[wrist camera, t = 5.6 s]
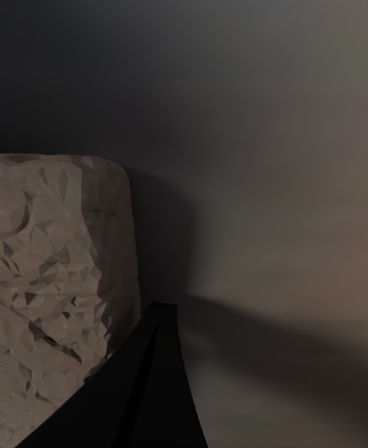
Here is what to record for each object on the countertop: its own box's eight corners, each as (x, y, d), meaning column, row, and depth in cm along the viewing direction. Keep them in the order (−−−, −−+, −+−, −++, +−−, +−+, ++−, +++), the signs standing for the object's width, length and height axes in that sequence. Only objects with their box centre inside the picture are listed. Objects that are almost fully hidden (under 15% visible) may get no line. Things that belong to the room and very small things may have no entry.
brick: (152, 383, 14) (130, 488, 9) (51, 373, 14) (-16, 467, 10) (137, 158, 9) (73, 146, 4) (-16, 157, 9) (-217, 146, 5)
